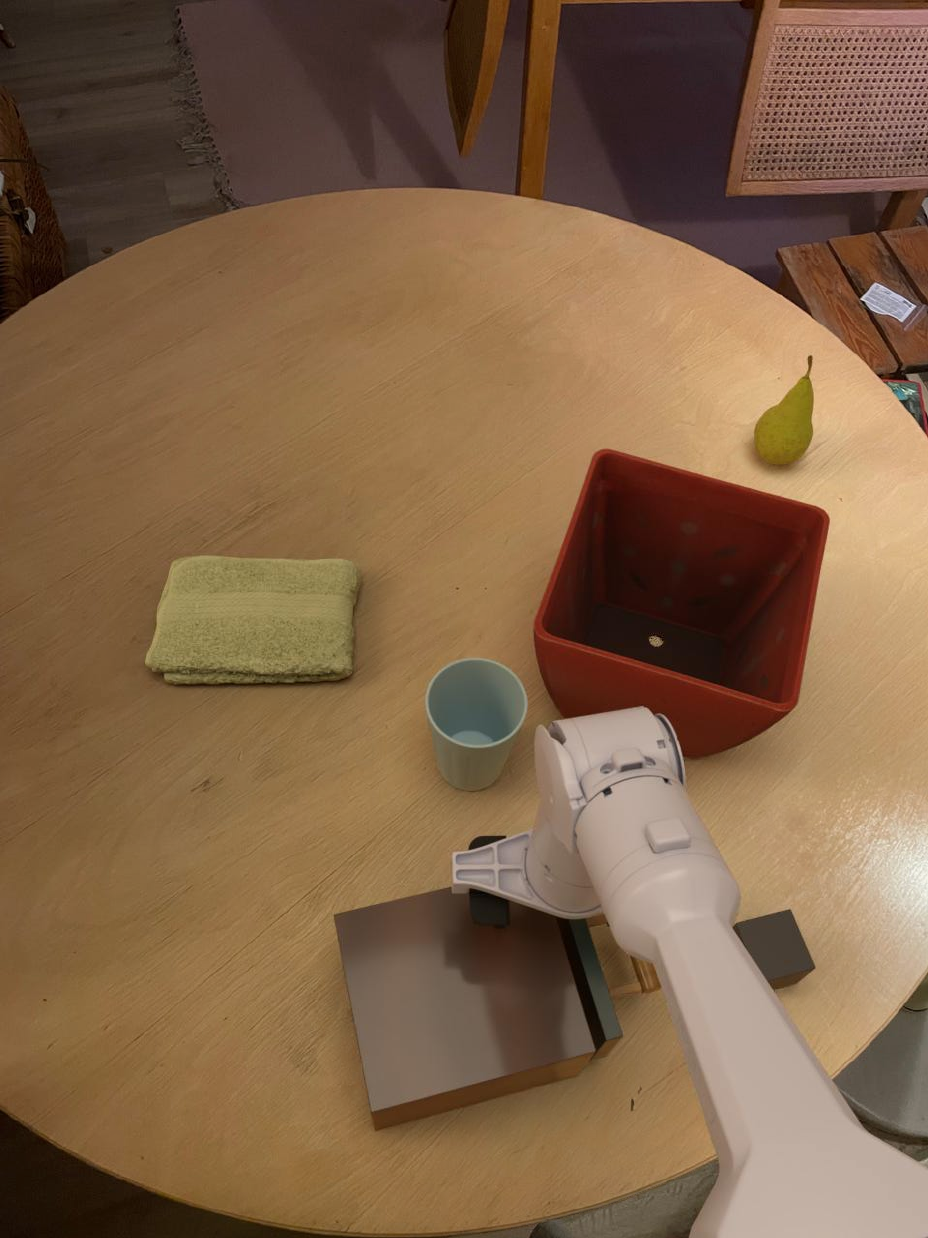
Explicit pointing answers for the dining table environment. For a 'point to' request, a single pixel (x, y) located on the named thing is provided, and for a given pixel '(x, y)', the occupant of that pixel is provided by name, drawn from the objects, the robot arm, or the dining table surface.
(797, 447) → the fruit
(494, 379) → the dining table surface
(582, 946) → the drawer
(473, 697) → the cup
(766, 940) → the block
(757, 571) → the flower pot
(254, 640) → the washcloth
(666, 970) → the robot arm
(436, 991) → the cabinet
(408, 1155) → the dining table surface
